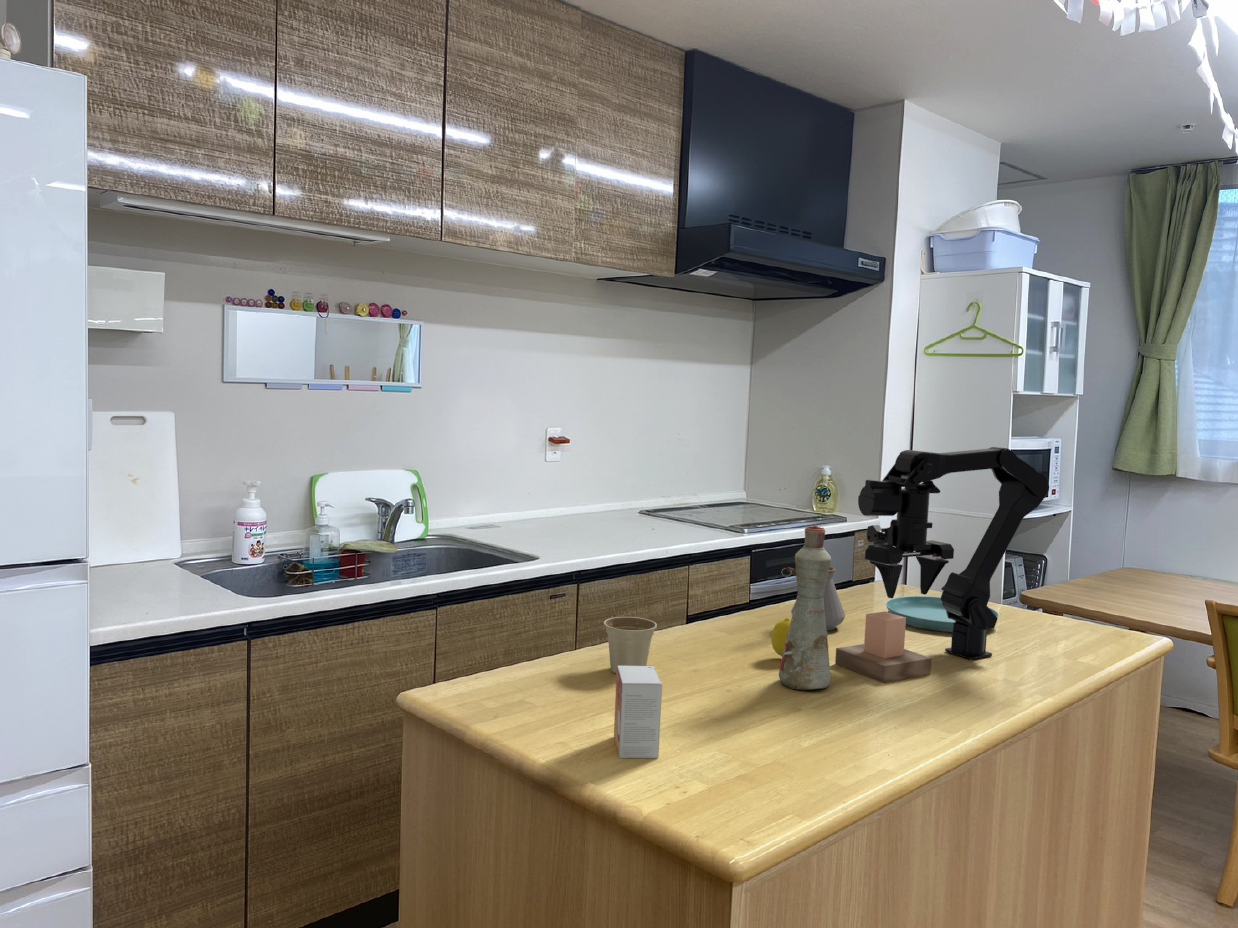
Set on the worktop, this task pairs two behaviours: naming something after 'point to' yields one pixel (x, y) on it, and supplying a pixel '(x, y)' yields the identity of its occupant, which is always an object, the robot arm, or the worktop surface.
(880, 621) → the terracotta block
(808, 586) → the bottle
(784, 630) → the lemon
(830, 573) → the coffee pot
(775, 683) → the worktop surface
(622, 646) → the flower pot
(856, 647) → the walnut base
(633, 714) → the small box
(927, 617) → the saucer
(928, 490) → the robot arm
